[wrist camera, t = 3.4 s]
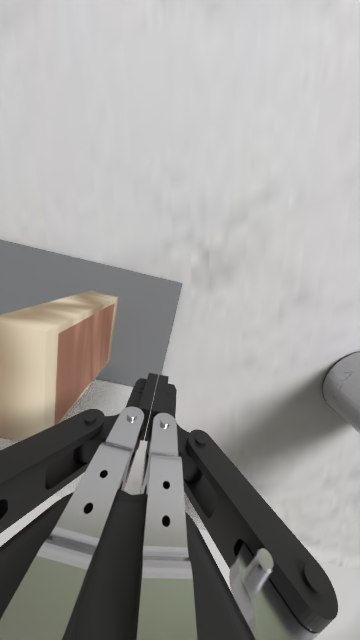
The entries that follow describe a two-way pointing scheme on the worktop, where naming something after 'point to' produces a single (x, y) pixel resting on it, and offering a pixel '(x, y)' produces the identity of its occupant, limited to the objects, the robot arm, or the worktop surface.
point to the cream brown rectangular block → (51, 359)
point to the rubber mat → (82, 276)
